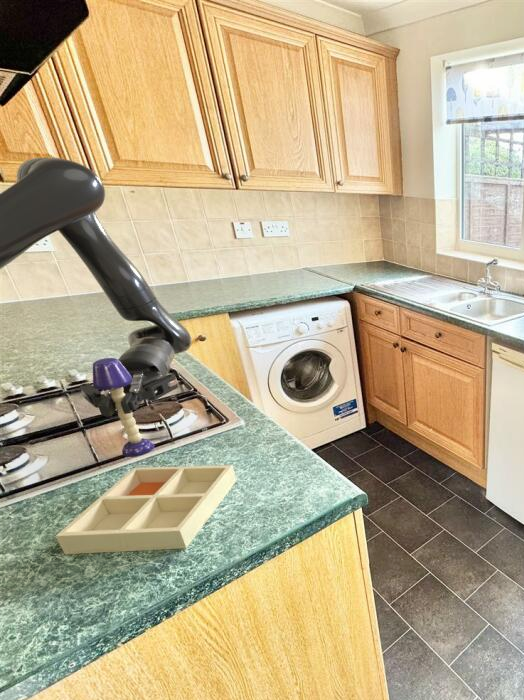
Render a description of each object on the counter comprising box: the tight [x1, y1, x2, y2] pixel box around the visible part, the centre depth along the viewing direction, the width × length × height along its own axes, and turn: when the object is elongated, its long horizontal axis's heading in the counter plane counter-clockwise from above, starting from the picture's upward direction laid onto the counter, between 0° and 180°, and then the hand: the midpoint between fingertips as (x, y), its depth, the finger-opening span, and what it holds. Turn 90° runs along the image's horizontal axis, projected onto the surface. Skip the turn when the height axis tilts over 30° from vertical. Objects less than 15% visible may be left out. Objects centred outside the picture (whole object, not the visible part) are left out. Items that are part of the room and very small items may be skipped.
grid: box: [55, 464, 238, 555], centre depth 69 cm, size 16×16×4 cm
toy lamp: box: [92, 357, 155, 458], centre depth 68 cm, size 5×5×17 cm
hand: (115, 409), depth 66 cm, fingers closed on toy lamp
